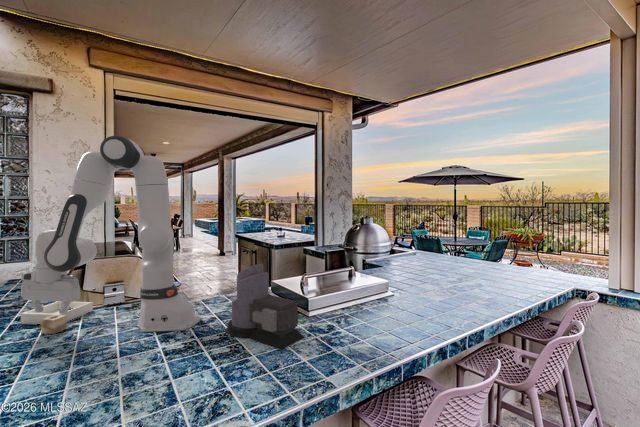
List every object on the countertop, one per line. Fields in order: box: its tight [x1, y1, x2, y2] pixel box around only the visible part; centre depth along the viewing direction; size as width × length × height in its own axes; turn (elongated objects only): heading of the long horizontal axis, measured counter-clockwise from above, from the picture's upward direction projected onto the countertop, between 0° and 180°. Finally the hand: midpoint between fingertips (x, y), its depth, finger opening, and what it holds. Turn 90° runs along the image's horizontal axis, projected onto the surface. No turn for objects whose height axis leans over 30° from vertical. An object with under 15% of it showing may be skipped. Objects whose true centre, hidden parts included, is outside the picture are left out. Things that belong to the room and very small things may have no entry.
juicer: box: [223, 263, 305, 351], centre depth 114 cm, size 30×16×24 cm, turn 54°
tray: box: [20, 301, 94, 326], centre depth 131 cm, size 16×16×4 cm
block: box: [40, 315, 68, 335], centre depth 117 cm, size 5×5×5 cm
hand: (51, 312), depth 116 cm, fingers open, 8 cm apart
